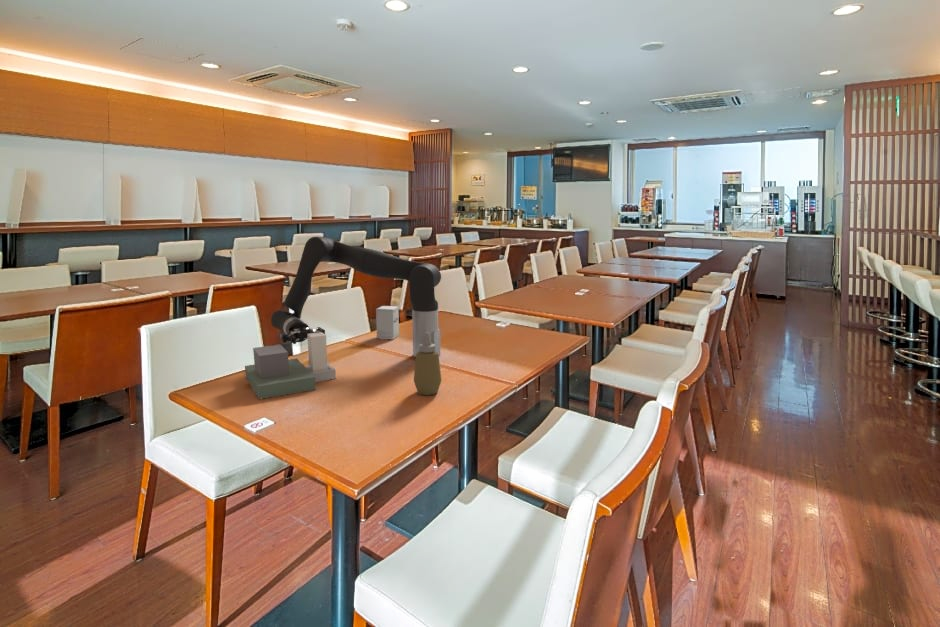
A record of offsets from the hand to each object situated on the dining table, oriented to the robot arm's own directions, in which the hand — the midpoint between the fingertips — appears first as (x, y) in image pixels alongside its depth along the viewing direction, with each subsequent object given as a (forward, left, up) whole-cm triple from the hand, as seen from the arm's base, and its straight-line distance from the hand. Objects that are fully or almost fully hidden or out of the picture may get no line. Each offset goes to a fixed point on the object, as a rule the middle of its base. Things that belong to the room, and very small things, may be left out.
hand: (308, 339), depth 175 cm
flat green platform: (-3, +13, -10) cm, 17 cm away
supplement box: (-6, -46, -10) cm, 47 cm away
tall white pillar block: (-8, +7, -10) cm, 15 cm away
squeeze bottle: (-46, +9, -10) cm, 48 cm away
